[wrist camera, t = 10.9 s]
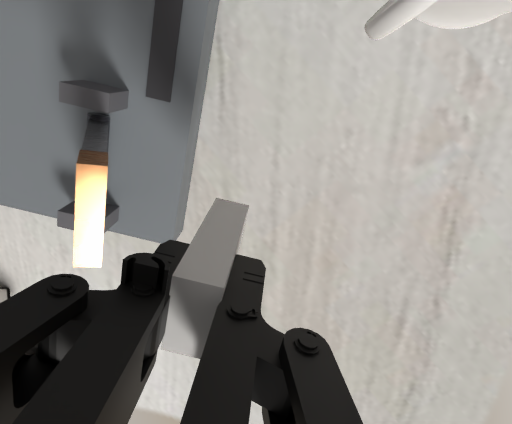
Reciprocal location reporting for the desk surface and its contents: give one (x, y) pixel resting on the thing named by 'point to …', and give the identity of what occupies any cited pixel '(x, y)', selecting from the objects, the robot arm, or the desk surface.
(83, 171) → the lever
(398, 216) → the desk surface
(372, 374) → the desk surface
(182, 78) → the panel
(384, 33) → the mug
